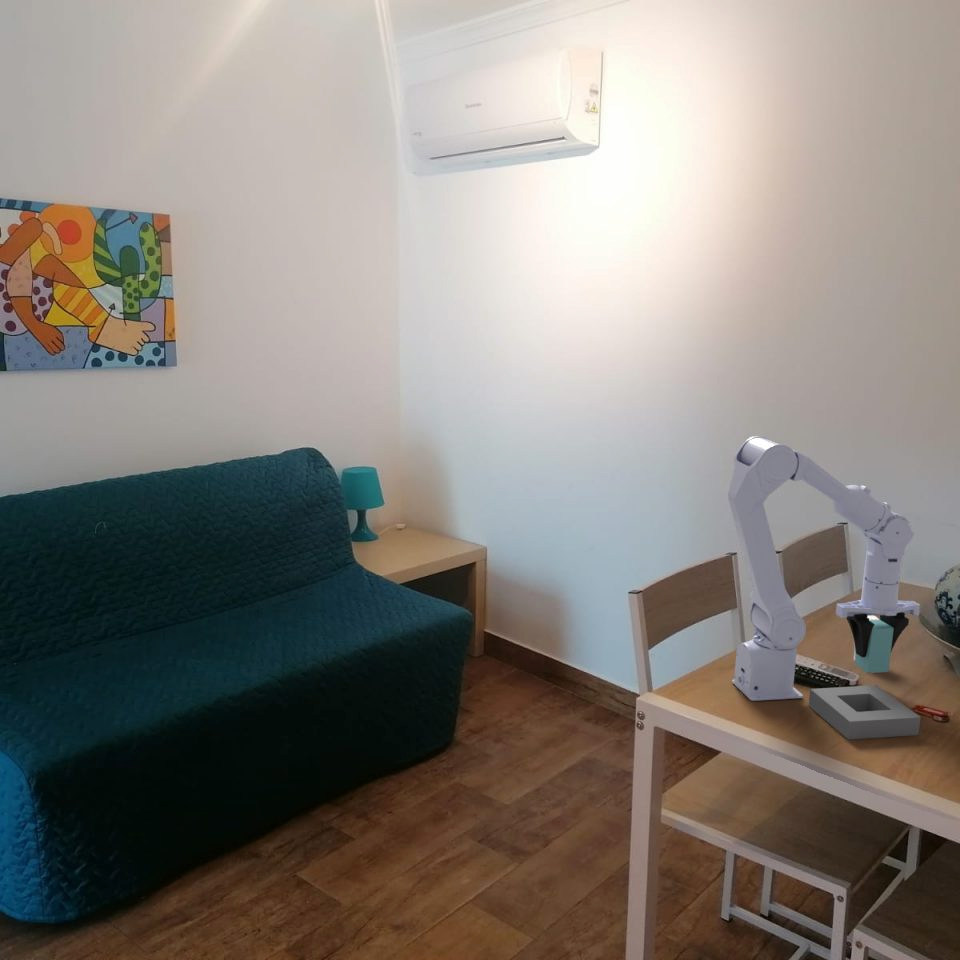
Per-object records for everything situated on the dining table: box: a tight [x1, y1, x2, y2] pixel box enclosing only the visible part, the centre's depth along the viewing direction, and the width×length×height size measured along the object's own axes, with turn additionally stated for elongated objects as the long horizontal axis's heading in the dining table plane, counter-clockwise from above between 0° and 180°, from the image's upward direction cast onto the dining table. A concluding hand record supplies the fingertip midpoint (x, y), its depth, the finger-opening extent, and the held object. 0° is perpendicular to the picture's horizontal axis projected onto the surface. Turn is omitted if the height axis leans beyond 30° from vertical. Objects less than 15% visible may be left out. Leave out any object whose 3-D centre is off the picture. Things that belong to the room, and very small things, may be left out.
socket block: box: [808, 684, 921, 740], centre depth 150 cm, size 12×12×3 cm
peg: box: [854, 619, 894, 674], centre depth 161 cm, size 4×4×8 cm
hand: (872, 654), depth 161 cm, fingers closed on peg, 4 cm apart
